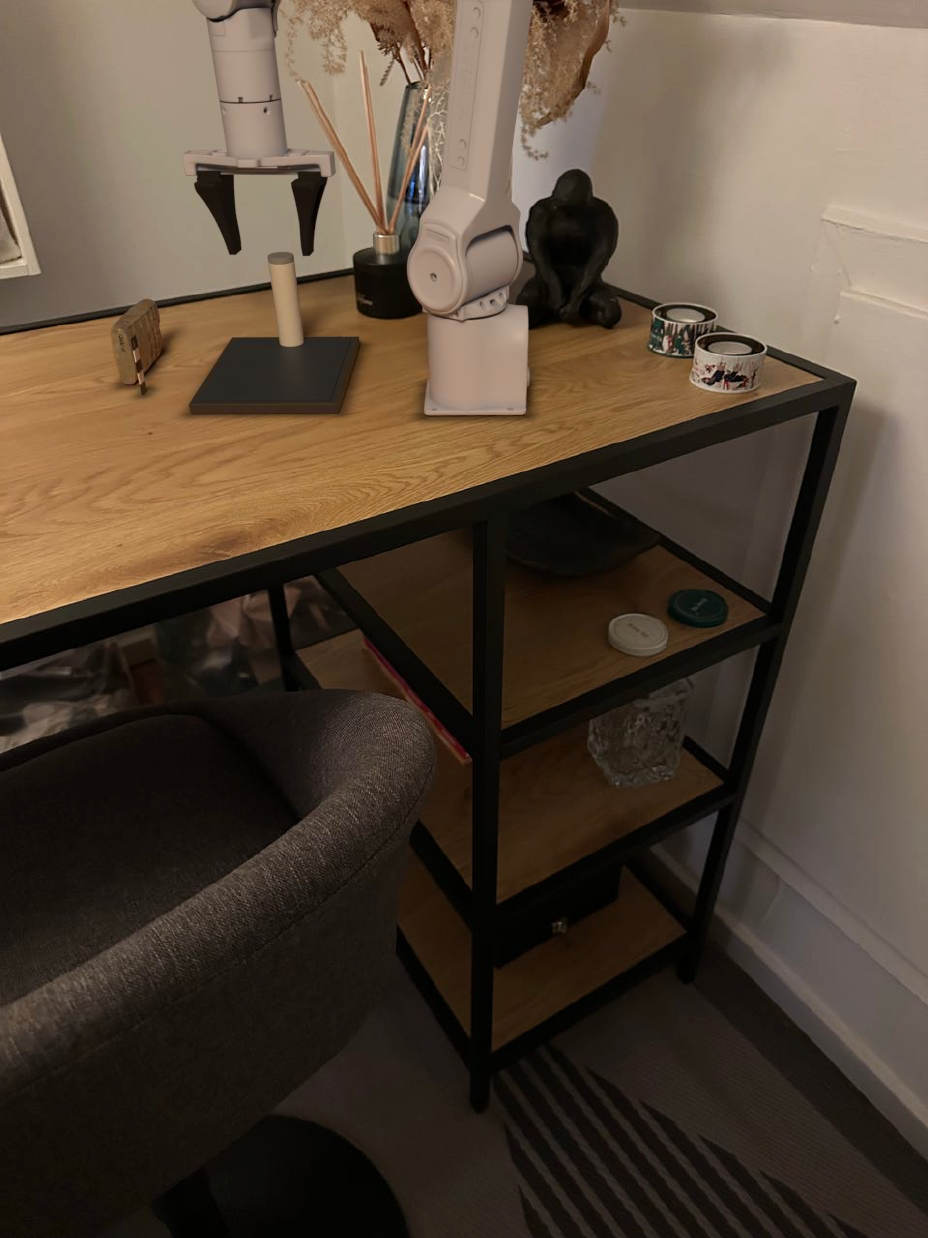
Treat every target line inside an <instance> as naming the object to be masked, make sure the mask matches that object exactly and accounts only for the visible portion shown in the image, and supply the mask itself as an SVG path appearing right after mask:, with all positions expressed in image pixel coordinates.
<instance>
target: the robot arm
mask: <svg viewBox="0 0 928 1238" xmlns="http://www.w3.org/2000/svg"><path fill="white" fill-rule="evenodd" d="M191 1H192V3H193V5H194V7H195V8H196V10H198V12H199V13H200V14H201V15H202V16H204V17H205V20H206V25H207V32H208V39H209V45H210V50H211V57H212V63H213V70H214V77H215V83H216V88H217V89H216V90H217V95H218V101H219V108H220V109H219V110H220V115H221V122H222V127H223V134H224V140H225V146H226V148H221V149H220V148H219V149H201V150H200V149H196V150H195V149H194V150H193V149H191V150H190V149H189V150H187V151H185V152H183V153H182V154H181V159H182V164H183V169H184V173H185V176H186V177H196V181H195V182H194V183H193V187H194V190H195V192H196V194H197V195H198V196H199V197H200V199H201V200H202V202H203V203H204V204H205V206H206V208H207V209H208V210H209V212H210V214H211V216H212V217H213V220H214V221H215V223H216V225H217V227H218V229H219V232H220V234H221V236H222V238H223V241H224V243H225V246H226V249H227V252H228V254H229V256H236V255H237V254H239V253H240V252H241V251H242V239H241V233H240V228H239V222H238V215H237V208H236V197H235V196H236V195H235V176H297V178H294V179H293V180H292V181H291V182H290V186H291V191H292V195H293V199H294V203H295V207H296V208H295V209H296V213H297V219H298V227H299V228H298V229H299V241H300V242H299V243H300V250H301V254H302V257H310V256H311V255H312V254H313V253H314V252H315V233H316V227H317V220H318V215H319V210H320V207H321V202H322V199H323V196H324V192H325V189H326V187H327V184H328V180H329V178H332V177H333V176H335V174H336V173H337V170H336V159H335V157H336V156H335V151H333V150H314V149H313V150H312V149H302V148H288V140H287V133H286V123H285V115H284V109H283V99H282V93H281V83H280V75H279V67H278V59H277V51H276V41H275V39H276V38H277V36H278V33H277V32H278V31H279V24H278V23H279V22H278V11H279V7H280V5H281V2H282V0H191ZM533 4H534V0H456V10H455V19H454V21H455V22H454V33H453V43H452V52H451V54H452V55H451V62H450V63H451V65H450V75H449V86H448V97H447V108H446V119H445V129H444V140H443V151H442V162H441V172H440V183H439V187H438V190H437V191H436V193H435V194H434V195H433V197H432V199H431V200H430V202H429V203H428V205H427V206H426V208H425V209H424V211H423V212H422V214H421V216H420V218H419V224H418V225H419V226H418V233H417V238H416V240H415V243H414V244H413V246H412V248H411V250H410V252H409V253H408V256H407V262H406V276H407V281H408V284H409V287H410V289H411V292H412V294H413V295H414V297H415V299H416V300H417V302H418V303H419V304H420V305H421V306H422V312H423V313H425V314H426V327H427V328H426V329H427V330H426V331H427V354H428V355H427V356H428V357H427V358H428V379H427V380H426V389H425V397H424V406H423V414H424V415H425V416H523V415H526V414H527V392H528V391H527V390H528V387H529V386H530V380H531V379H530V377H531V375H530V374H531V373H530V371H531V370H530V366H528V363H529V362H528V361H529V359H528V358H529V310H528V309H529V307H528V306H527V305H519V304H511V303H508V302H507V301H508V300H509V299H510V286H512V285H513V284H514V283H515V282H516V280H517V279H518V278H519V276H520V274H521V271H522V267H523V262H524V253H523V252H524V251H523V248H522V247H523V246H522V242H521V237H520V222H521V214H522V213H521V210H520V209H519V207H518V206H517V205H516V204H515V203H514V202H513V201H512V200H511V198H510V197H509V196H508V195H507V188H508V181H509V174H510V169H511V168H510V166H511V160H512V153H513V146H514V139H515V131H516V125H517V117H518V112H519V102H520V96H521V89H522V82H523V76H524V68H525V62H526V54H527V48H528V40H529V33H530V25H531V19H532V11H533V6H534V5H533Z"/></svg>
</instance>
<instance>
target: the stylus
mask: <svg viewBox="0 0 928 1238" xmlns="http://www.w3.org/2000/svg"><path fill="white" fill-rule="evenodd" d="M267 263H268V270H269V276H270V284H271V291H272V298H273V305H274V312H275V319H276V326H277V334H278V337H279V341H280V345H282V346H285V347H295V346H299V345H302V344H303V343H304V337H305V335H304V330H303V321H302V313H301V305H300V296H299V288H298V280H297V273H296V265H295V264H296V263H295V257H294V253H292V252H290V251H276V252H272V253H269V254H268V255H267Z"/></svg>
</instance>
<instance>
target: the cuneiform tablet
mask: <svg viewBox="0 0 928 1238" xmlns="http://www.w3.org/2000/svg"><path fill="white" fill-rule="evenodd" d="M159 312H160V311H159V308H158V306H157V303H156V301H155V300H153V299H151V298H150V299H149V298H143V299H140V300H139V301H137V302H136V303H135V304H133V306H131V307H130V308H129V309H128V310H127V311H126V312H124V314H122V315H121V316H120V317H119V318H118V319H117V320H116V321H115V323H114V325H112V327H111V329H110V341H111V345H112V354H113V357H114V362H115V366H116V369H117V372H118V376H119V379H120V382H121V383H123V384H124V385H134V384H136V382H137V381H138V383H139V388H140V392H141V396H144V395H145V394H146V393H147V392H148V389H147V385H146V379H145V373H146V372H147V371H148V370H149V368H150V367H151V365H152V364H153V363H154V362H155V361H156V360H157V359H158V357H160V355H161V353H162V342H163V341H162V334H161V328H160V326H161V325H160V323H161V316H160V313H159Z"/></svg>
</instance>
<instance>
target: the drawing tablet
mask: <svg viewBox="0 0 928 1238" xmlns="http://www.w3.org/2000/svg"><path fill="white" fill-rule="evenodd" d="M360 344H361V343H360V336H304V343H303V344H302V345H299V346H295V347H285V346H282V345H280V341H279V336H243V337H242V336H241V337H240V336H238V337H237V336H234V337H233V336H232V337H231V338H230V340H229V342H228V343H227V344H226V346H225V348H224V349H223V351H222V352H221V354H220V355H219V357H218V358H217V360H216V361H215V363H214V365H213V366H212V368H211V369H210V371H209V372H208V374H207V376H206V377H205V378H204V380H203V382H202V383H201V385H200V386H199V388H198V390H196V393H195V394H194V395H193V397H192V399H191V400H190V401H189V403H188V407H189V412H190V415H252V414H253V415H259V414H260V415H261V414H264V415H271V414H276V415H277V414H278V415H279V414H288V415H289V414H291V415H292V414H340V411H341V407H342V404H343V401H344V398H345V394H346V392H347V388H348V386H349V381H350V379H351V375H352V371H353V368H354V365H355V362H356V358H357V355H358V352H359V349H360V346H361V345H360Z"/></svg>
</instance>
